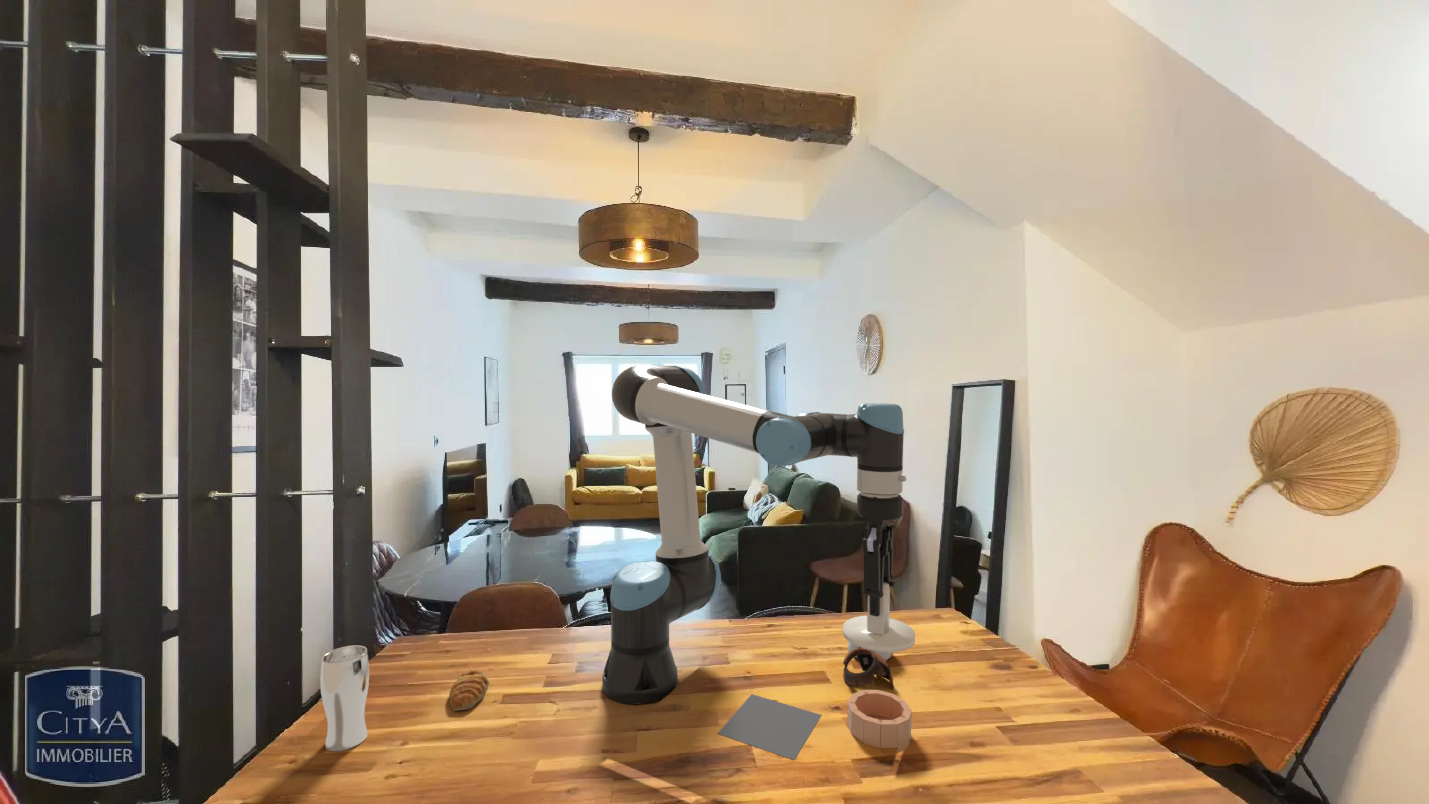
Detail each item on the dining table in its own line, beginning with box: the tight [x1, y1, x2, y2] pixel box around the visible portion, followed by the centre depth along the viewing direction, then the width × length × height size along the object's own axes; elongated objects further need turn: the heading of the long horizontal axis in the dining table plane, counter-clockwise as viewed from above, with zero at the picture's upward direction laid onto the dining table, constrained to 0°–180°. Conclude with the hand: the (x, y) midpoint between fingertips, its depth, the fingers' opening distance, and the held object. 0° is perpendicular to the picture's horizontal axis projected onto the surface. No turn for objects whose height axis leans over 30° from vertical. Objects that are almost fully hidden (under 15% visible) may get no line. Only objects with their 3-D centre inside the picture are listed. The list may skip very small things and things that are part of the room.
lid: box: [842, 582, 916, 653], centre depth 99 cm, size 12×12×9 cm
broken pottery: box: [842, 647, 895, 690], centre depth 118 cm, size 12×10×8 cm
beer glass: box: [319, 644, 370, 752], centre depth 98 cm, size 7×7×15 cm
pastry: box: [449, 669, 490, 712], centre depth 111 cm, size 9×7×4 cm
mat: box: [717, 693, 823, 761], centre depth 102 cm, size 14×14×1 cm
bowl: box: [846, 689, 913, 754], centre depth 101 cm, size 10×10×5 cm
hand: (878, 627), depth 100 cm, fingers closed on lid, 3 cm apart
